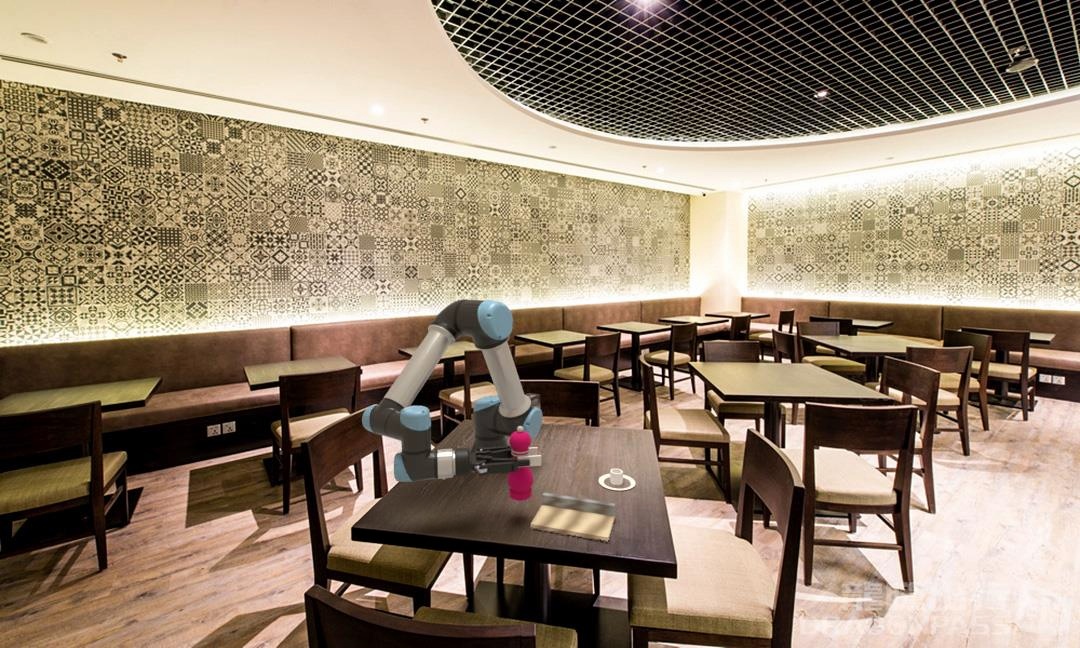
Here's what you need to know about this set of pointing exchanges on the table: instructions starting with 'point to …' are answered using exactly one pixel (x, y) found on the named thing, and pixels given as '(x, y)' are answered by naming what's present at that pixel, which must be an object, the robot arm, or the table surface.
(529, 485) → the pepper mill
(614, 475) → the candle holder
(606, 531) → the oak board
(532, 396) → the coffee box
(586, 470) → the table surface
